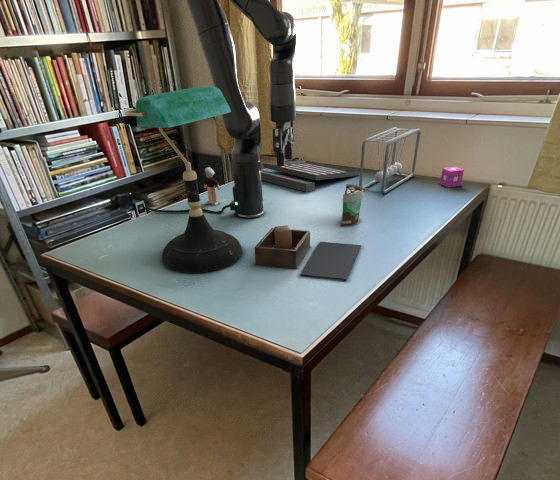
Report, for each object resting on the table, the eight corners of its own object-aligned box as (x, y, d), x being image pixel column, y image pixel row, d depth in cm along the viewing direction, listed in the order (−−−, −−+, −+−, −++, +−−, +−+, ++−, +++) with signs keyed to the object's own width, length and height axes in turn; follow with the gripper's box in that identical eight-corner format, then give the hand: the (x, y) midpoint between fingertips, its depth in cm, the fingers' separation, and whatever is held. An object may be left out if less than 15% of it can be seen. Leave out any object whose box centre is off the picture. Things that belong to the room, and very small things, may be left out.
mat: (300, 275, 109) (300, 274, 109) (320, 243, 125) (320, 241, 125) (346, 280, 106) (346, 279, 105) (360, 246, 122) (360, 245, 122)
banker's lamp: (203, 283, 108) (172, 99, 83) (141, 265, 118) (95, 96, 93) (261, 246, 125) (249, 84, 100) (202, 233, 135) (178, 83, 110)
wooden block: (275, 254, 120) (274, 226, 115) (288, 252, 121) (288, 224, 116) (278, 259, 117) (277, 231, 112) (292, 257, 118) (291, 229, 113)
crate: (255, 264, 115) (254, 247, 112) (272, 244, 126) (271, 227, 123) (296, 268, 112) (295, 251, 109) (310, 247, 123) (310, 230, 120)
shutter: (304, 176, 201) (254, 181, 183) (305, 160, 198) (254, 163, 179) (357, 185, 182) (307, 191, 163) (359, 167, 178) (308, 171, 160)
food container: (360, 228, 133) (363, 195, 126) (341, 227, 134) (343, 195, 128) (362, 215, 142) (365, 183, 136) (344, 214, 143) (346, 183, 137)
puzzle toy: (447, 187, 162) (450, 171, 158) (439, 183, 166) (442, 168, 162) (460, 185, 163) (464, 170, 159) (452, 182, 167) (455, 166, 163)
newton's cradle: (390, 173, 181) (396, 125, 170) (414, 176, 176) (421, 127, 165) (358, 191, 163) (361, 140, 151) (382, 195, 158) (388, 142, 146)
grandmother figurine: (202, 204, 158) (196, 168, 150) (207, 201, 160) (202, 165, 152) (220, 206, 155) (215, 169, 147) (225, 203, 158) (220, 166, 150)
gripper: (278, 98, 128) (280, 157, 138) (262, 105, 118) (266, 168, 128) (301, 98, 126) (302, 157, 136) (288, 105, 116) (289, 168, 126)
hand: (284, 162), depth 132 cm, fingers open, 8 cm apart
